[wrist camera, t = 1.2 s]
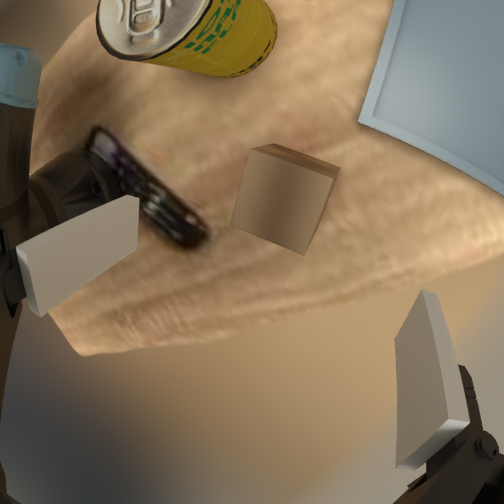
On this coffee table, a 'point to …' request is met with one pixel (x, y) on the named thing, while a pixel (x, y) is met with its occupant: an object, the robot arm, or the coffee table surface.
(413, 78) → the blue-grey tray
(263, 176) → the walnut cube
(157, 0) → the beverage can
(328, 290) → the coffee table surface
